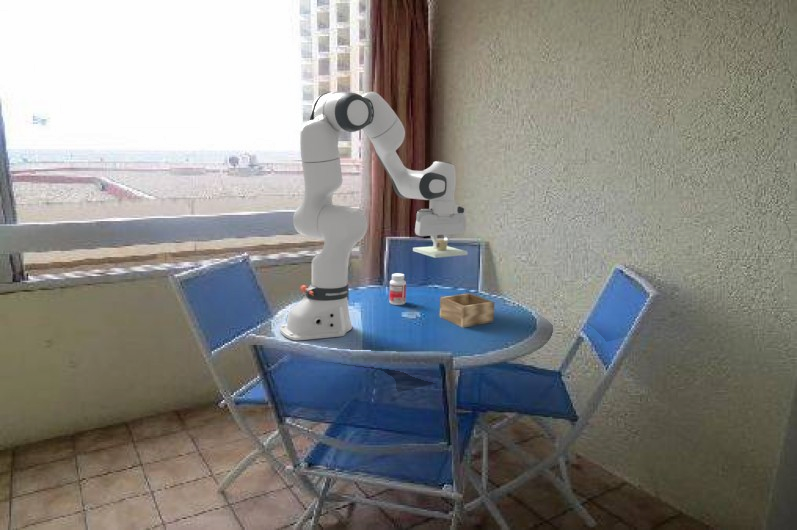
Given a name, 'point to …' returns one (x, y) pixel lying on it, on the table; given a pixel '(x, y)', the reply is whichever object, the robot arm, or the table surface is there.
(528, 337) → the table surface
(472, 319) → the box
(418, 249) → the lid
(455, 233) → the robot arm
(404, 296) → the pill bottle
